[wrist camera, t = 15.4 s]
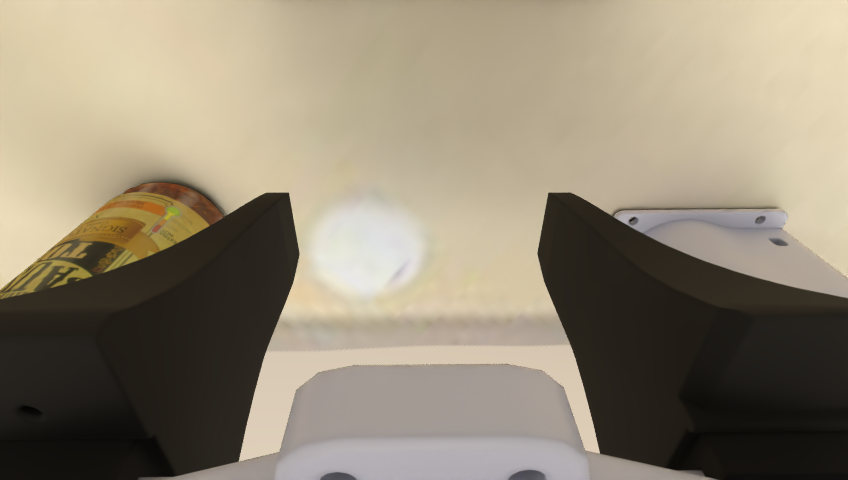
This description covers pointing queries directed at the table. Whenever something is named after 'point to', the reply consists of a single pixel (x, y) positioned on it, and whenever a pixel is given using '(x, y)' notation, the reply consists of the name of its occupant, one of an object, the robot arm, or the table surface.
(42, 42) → the table surface
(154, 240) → the sauce bottle
